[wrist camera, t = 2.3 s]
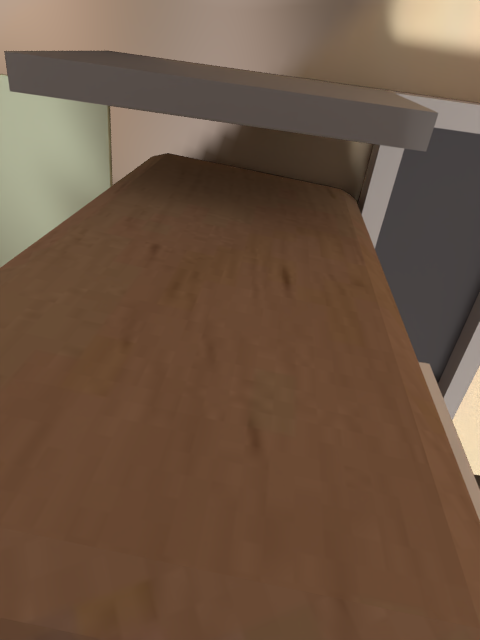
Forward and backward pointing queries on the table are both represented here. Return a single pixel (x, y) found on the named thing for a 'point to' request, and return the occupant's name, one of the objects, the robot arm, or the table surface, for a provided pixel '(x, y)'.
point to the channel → (224, 95)
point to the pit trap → (432, 240)
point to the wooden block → (222, 426)
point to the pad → (48, 163)
